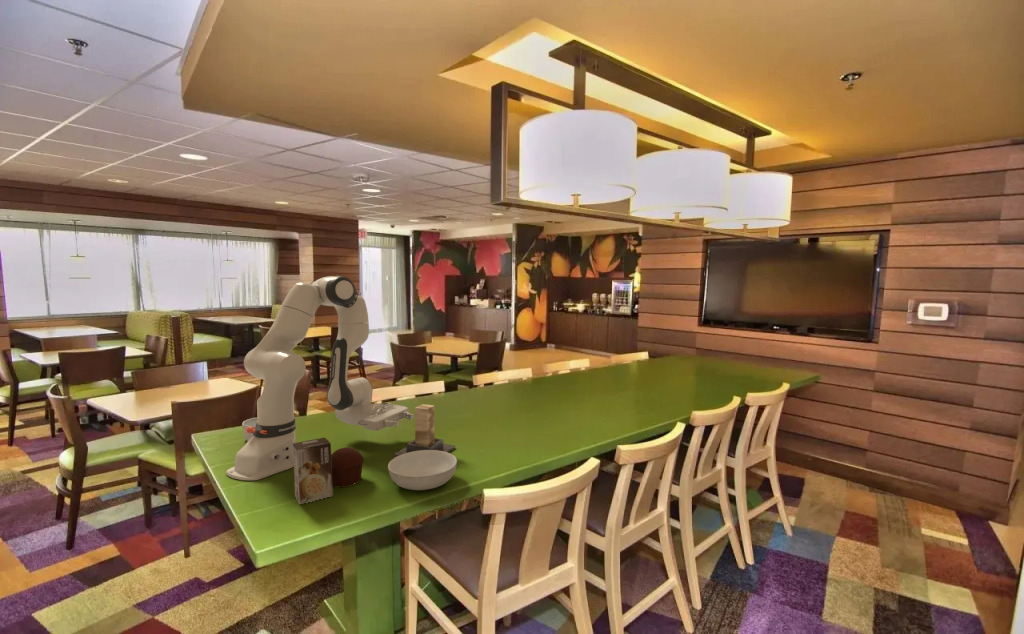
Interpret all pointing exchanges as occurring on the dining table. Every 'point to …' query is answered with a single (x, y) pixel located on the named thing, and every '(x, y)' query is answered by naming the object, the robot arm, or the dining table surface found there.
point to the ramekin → (249, 423)
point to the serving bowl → (422, 469)
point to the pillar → (424, 425)
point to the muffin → (346, 466)
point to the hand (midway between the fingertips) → (404, 420)
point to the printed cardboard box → (312, 470)
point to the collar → (436, 446)
